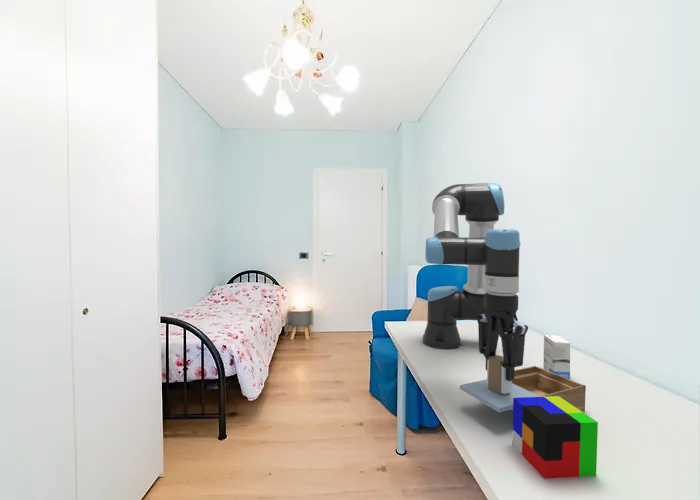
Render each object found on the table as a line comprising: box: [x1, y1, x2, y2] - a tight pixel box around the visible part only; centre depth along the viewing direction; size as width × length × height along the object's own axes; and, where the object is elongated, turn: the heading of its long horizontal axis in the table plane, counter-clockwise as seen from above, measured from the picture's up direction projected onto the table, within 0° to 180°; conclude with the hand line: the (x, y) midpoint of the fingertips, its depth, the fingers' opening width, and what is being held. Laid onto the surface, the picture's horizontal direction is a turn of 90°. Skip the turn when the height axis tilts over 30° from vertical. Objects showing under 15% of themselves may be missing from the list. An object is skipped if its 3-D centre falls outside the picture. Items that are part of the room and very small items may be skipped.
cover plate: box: [459, 354, 540, 413], centre depth 81 cm, size 12×13×9 cm
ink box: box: [542, 334, 571, 380], centre depth 105 cm, size 9×5×12 cm, turn 168°
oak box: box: [512, 365, 587, 413], centre depth 86 cm, size 14×14×6 cm
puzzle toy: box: [511, 396, 599, 480], centre depth 65 cm, size 10×10×10 cm
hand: (499, 388), depth 81 cm, fingers closed on cover plate, 3 cm apart
